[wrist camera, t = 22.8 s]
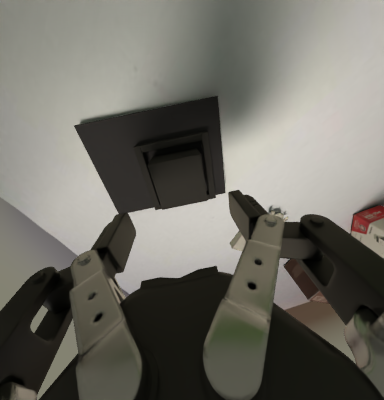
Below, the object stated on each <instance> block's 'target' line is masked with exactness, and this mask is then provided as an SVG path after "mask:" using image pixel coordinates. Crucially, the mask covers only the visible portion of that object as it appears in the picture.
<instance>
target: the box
mask: <svg viewBox="0 0 384 400" xmlns="http://www.w3.org/2000/svg"><path fill="white" fill-rule="evenodd" d="M284 268H285V269H286V270H287V272H288V273H289V274H290V276H291V277H292V278H293V280H294V281H295V283H296V284H297V285H298V287H299V288H300V289H301V291H302V292H303V293H304V295H305V296H306V298H307V299H308V300H310V301H317V302H322V303H329V302H328V301H327V300H326V299H325V297H324V296H323V295H322V293H321V292H320V291H319V289H318V288H317V287H316V285H315V284H314V283H313V282H312V280H311V279H310V278H309V276H308V275H307V274H306V272H305V271H304V270H303V268H302V267H301V266H300V265H299V263H298V262H297V261H296V259H291V260H290V261H289V262H288V263H287V264H286V265H285V266H284Z"/></svg>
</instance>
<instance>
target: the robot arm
mask: <svg viewBox="0 0 384 400" xmlns="http://www.w3.org/2000/svg"><path fill="white" fill-rule="evenodd" d="M229 208H230V214H231V216H232V218H233V220H234V222H235V223H236V225H237V227H238V229H239V230H240V232H241V234H242V236H243V237H244V239H245V241H246V244H245V246H244V249H243V251H242V254H241V257H240V259H239V262H238V264H237V267H236V270H235V272H234V275H232V274H228V273H224V272H218V270H217V266H214V267H209V268H204V269H199V270H196V271H194V272H192V273H190V274H188V275H185V276H183V277H181V278H161V277H160V278H155V279H150V280H145V281H142V282H141V287H140V289H138V290H136V291H134V292H133V293H131V294H130V295H129V296H128V297H126V298H125V296H124V294H123V292H122V290H121V288H120V286H119V284H118V282H117V280H116V279H115V274H116V273H121V272H123V271H124V268H125V266H126V263H127V260H128V257H129V254H130V251H131V248H132V245H133V242H134V239H135V236H136V230H135V227H134V225H133V223H132V221H131V219H130V217H129V215H128V213H122V214H117V215H116V216H115V217H114V219H113V221H112V222H110V223H109V224H108V225H107V226H106V227H105V228H104V230H103V231H102V233H101V234H100V236H99V238H98V239H97V241H96V242H95V244H94V245H93V247H92V248H91V250H89V251H86V252H84V253H82V254H81V255H79V256H78V257H77V258H76V259H75V260H74V261H73V262H72V264H71V266H70V267H68V268H66V269H63V270H61V271H59V272H58V271H57V270H56V269H55V268H54V267H47V268H44V269H42V270H40V271H38V272H37V273H35V274H34V275H32V276H31V277H30V278H29V279H28V280H27V281H26V282H25V284H23V285H22V287H21V288H20V289H19V290H18V291H17V292H16V294H15V295H14V296H13V297H12V298H11V300H10V301H9V302H8V303H7V304H6V305H5V307H4V308H3V309H2V310H1V311H0V400H37V394H38V392H39V389H40V387H41V385H42V383H43V381H44V379H45V377H46V374H47V372H48V370H49V368H50V366H51V364H52V362H53V359H54V357H55V355H56V353H57V351H58V349H59V347H60V344H61V342H62V340H63V338H64V336H65V334H66V332H67V329H68V327H69V325H70V323H71V321H72V319H73V321H74V327H75V333H76V340H77V347H78V354H77V355H76V356H75V358H74V359H73V360H72V361H71V362H70V363H69V365H68V366H67V367H66V368H65V369H64V371H63V372H62V373H61V374H60V375H59V377H58V378H57V379H56V380H55V381H54V383H53V384H52V385H51V386H50V387H49V388H48V389H47V391H46V392H45V393H44V394H43V395H42V397H41V398H40V399H39V400H384V258H382V257H381V256H379V255H378V254H377V253H375V252H374V251H373V250H371V249H370V248H368V247H367V246H366V245H364V244H363V243H361V242H360V241H359V240H357V239H356V238H354V237H353V236H352V235H350V234H349V233H348V232H346V231H345V230H343V229H342V228H341V227H339V226H338V225H336V224H335V223H334V222H332V221H331V220H329V219H328V218H326V217H323V216H320V215H314V214H309V215H304V216H302V217H301V220H300V222H284V220H283V219H282V218H281V217H279V216H276V215H272V214H268V213H267V212H266V211H265V209H264V208H263V207H262V206H261V205H259V203H258V202H256V200H255V199H254V198H253V197H251V196H249V195H243V194H242V193H241V192H240V191H239V190H236V191H231V192H229ZM280 258H287V259H296V261H297V262H298V263H299V265H300V266H301V267H302V268H303V270H304V271H305V272H306V274H307V275H308V276H309V278H310V279H311V280H312V282H313V283H314V284H315V285H316V287H317V288H318V289H319V291H320V292H321V293H322V295H323V296H324V297H325V299H326V300H327V301H328V302H329V304H330V305H331V306H332V308H333V309H334V310H335V312H336V313H337V314H338V316H339V317H340V318H341V319H342V321H343V322H344V323H345V325H346V327H345V329H344V336H345V340H346V342H347V344H348V346H349V347H350V349H351V351H352V353H353V355H354V357H355V361H356V364H355V363H354V362H353V361H352V360H351V359H350V358H349V357H347V356H346V355H345V354H344V353H342V352H341V351H340V350H338V349H337V348H336V347H334V346H333V345H331V344H330V343H329V342H327V341H326V340H325V339H323V338H322V337H320V336H319V335H318V334H316V333H315V332H313V331H312V330H311V329H309V328H308V327H307V326H305V325H304V324H302V323H301V322H299V321H298V320H297V319H296V318H294V317H293V316H291V315H290V314H289V313H287V312H286V311H284V310H283V309H282V308H280V307H279V306H278V305H276V304H275V303H273V300H274V293H275V286H276V280H277V273H278V266H279V259H280ZM42 305H43V306H44V307H46V308H47V309H48V312H47V313H46V315H45V317H44V318H43V320H42V322H41V323H40V325H39V326H38V328H37V330H36V331H35V333H33V332H32V331H31V329H30V325H31V322H32V320H33V318H34V316H35V315H36V314H37V312H38V311H39V309H40V308H41V306H42Z"/></svg>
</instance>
